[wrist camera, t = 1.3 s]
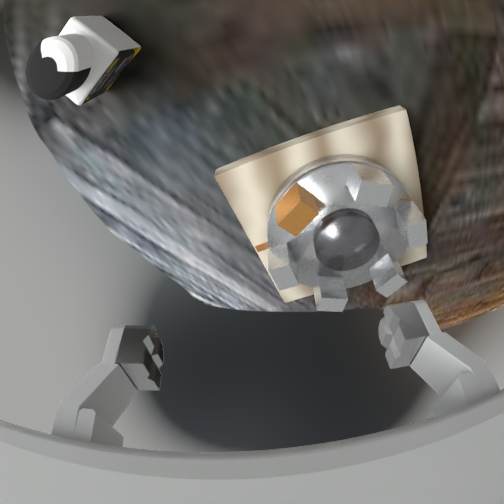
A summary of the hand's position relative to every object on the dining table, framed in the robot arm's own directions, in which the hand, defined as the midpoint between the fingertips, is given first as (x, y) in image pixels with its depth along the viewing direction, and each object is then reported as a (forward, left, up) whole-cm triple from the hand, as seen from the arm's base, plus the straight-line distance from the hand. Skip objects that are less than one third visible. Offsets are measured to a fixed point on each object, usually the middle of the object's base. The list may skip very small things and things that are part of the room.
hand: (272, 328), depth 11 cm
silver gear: (-4, +17, -27) cm, 32 cm away
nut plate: (-4, +17, -29) cm, 34 cm away
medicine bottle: (+13, -15, -30) cm, 36 cm away
